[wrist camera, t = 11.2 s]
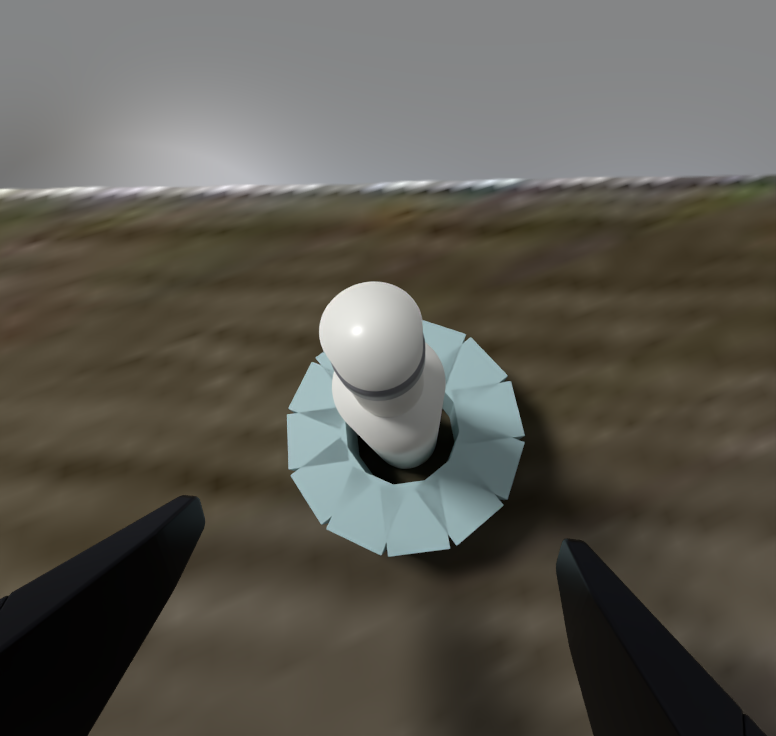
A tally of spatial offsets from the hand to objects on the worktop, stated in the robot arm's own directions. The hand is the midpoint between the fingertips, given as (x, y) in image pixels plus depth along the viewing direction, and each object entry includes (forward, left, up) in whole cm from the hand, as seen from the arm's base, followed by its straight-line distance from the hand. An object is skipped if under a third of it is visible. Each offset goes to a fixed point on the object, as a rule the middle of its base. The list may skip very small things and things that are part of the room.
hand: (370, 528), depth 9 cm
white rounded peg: (+4, -1, -9) cm, 10 cm away
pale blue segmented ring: (+4, -1, -9) cm, 10 cm away
